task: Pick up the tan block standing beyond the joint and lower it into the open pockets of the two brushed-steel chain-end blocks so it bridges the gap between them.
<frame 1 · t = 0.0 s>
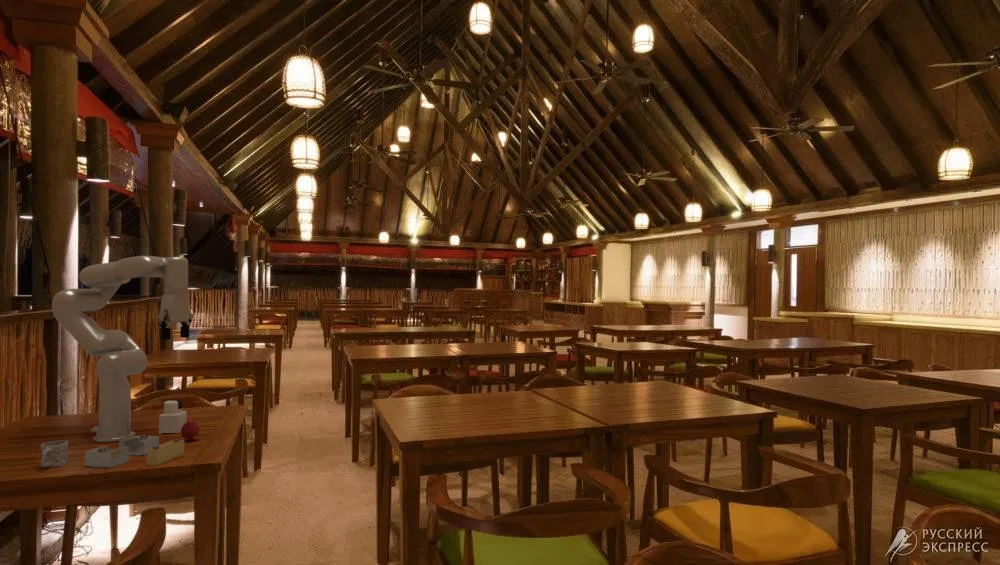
hand: (175, 338, 205), 37 cm above the table, tool pointing down, fingers open, 9 cm apart
chain end a: (139, 452, 189), on the table
onion: (189, 441, 204), on the table
chain end b: (107, 463, 176), on the table
tan block: (166, 460, 181), on the table
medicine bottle: (172, 432, 218), on the table
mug: (51, 467, 174), on the table
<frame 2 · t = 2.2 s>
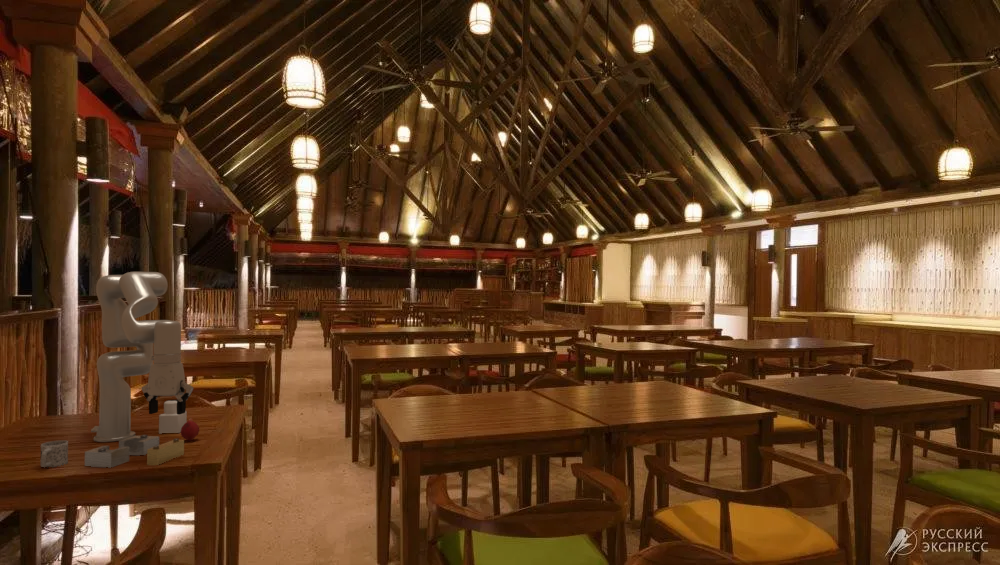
hand: (167, 413, 181), 15 cm above the table, tool pointing down, fingers open, 9 cm apart
nothing on the table moved.
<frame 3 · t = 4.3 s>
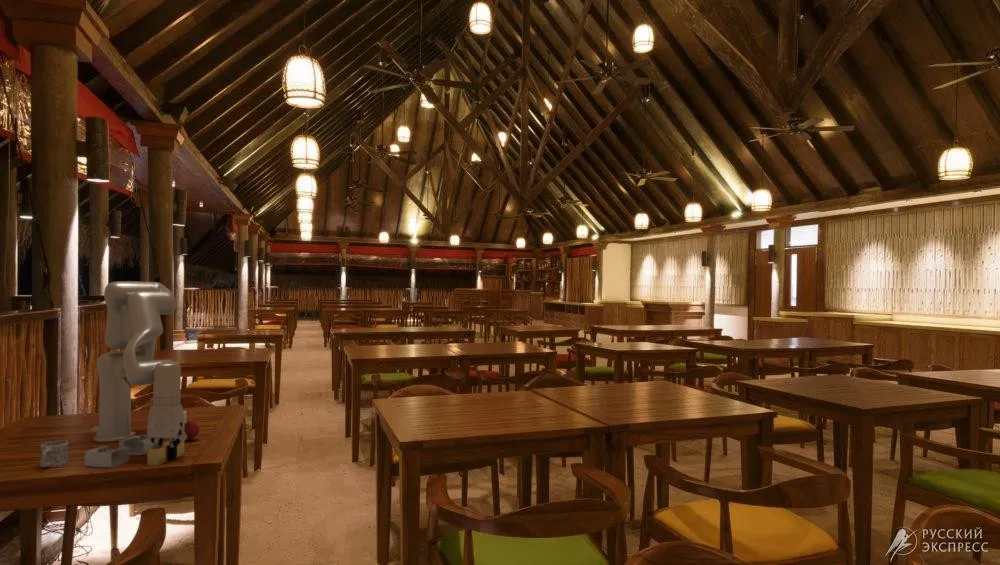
hand: (166, 458, 181), 0 cm above the table, tool pointing down, fingers closed on tan block, 3 cm apart
tan block: (166, 459, 181), on the table, touching gripper
everything else where it was.
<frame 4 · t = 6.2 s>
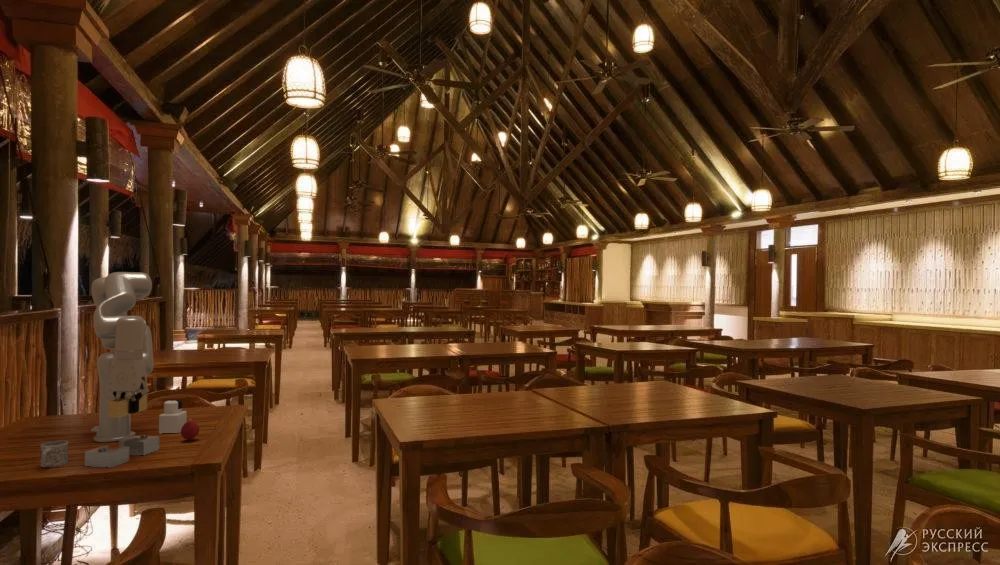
hand: (128, 411, 183), 15 cm above the table, tool pointing down, fingers closed on tan block, 3 cm apart
tan block: (128, 413, 183), point 14 cm above the table, touching gripper
everything else where it was.
when the fingers open (4 cm above the table, at t = 8.3 s): tan block drops 2 cm, resting on chain end a, chain end b.
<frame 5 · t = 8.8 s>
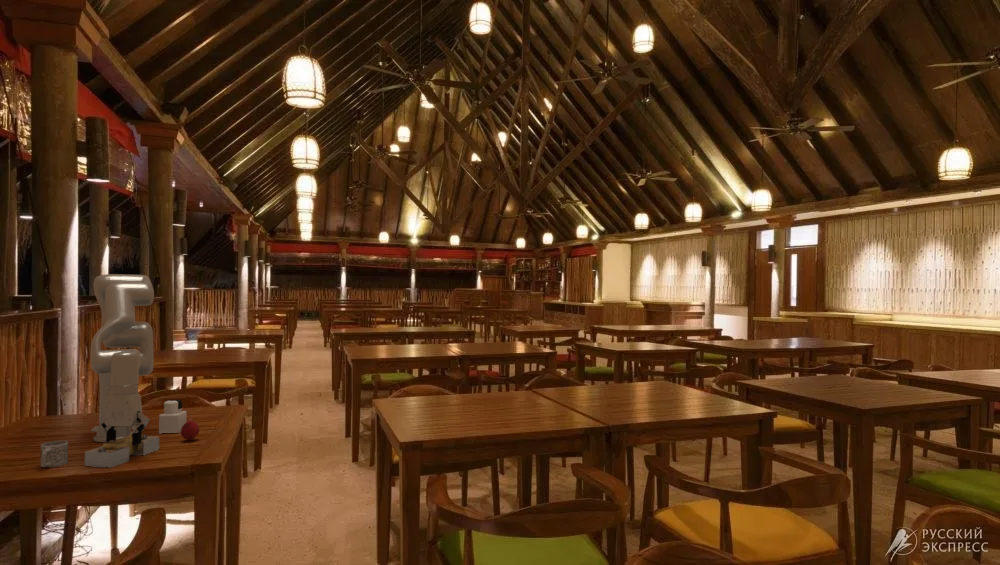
hand: (123, 443, 183), 4 cm above the table, tool pointing down, fingers open, 8 cm apart
tan block: (123, 454, 183), point 1 cm above the table, touching chain end a, chain end b
everything else where it was.
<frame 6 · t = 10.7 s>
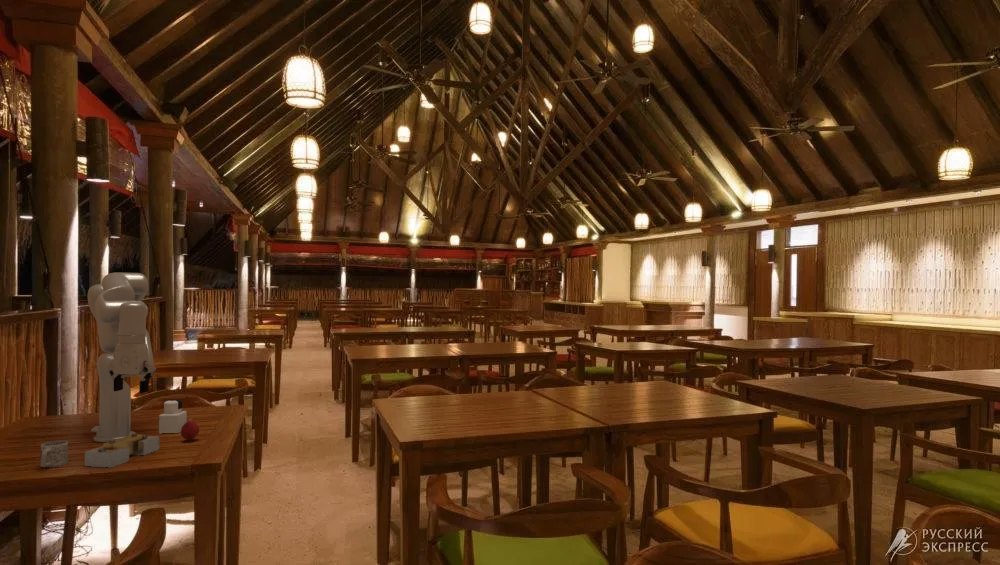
hand: (131, 391, 188), 21 cm above the table, tool pointing down, fingers open, 9 cm apart
nothing on the table moved.
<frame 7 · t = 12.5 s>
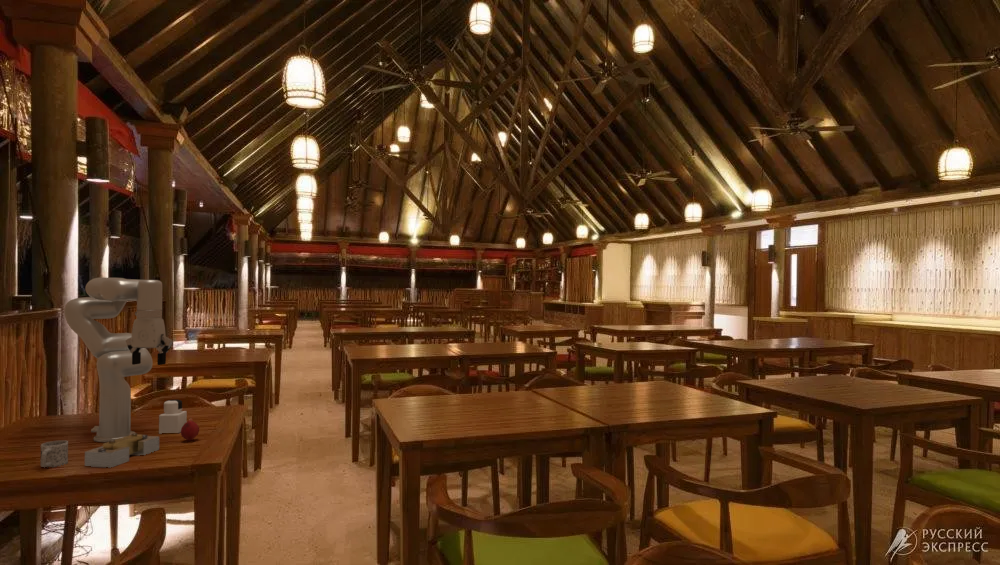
hand: (148, 364, 198), 28 cm above the table, tool pointing down, fingers open, 9 cm apart
nothing on the table moved.
at the end: tan block 0.3 cm from the target spot on the table beside the chain end a, point 1.0 cm above the table; tan block tilted 0°; the gripper is holding nothing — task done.
